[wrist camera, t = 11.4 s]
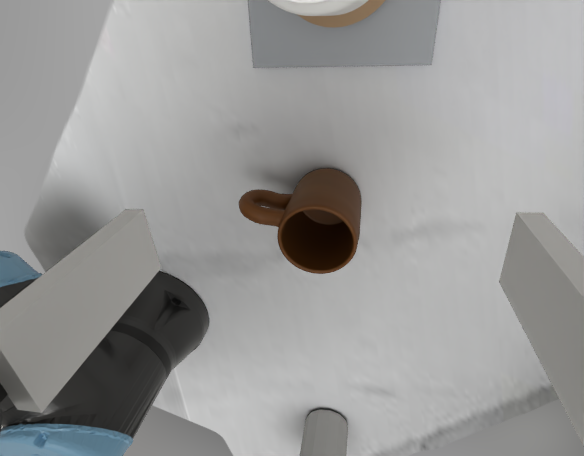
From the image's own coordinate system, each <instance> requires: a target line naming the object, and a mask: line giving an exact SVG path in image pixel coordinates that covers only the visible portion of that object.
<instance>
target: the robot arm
mask: <svg viewBox="0 0 584 456" xmlns="http://www.w3.org/2000/svg"><path fill="white" fill-rule="evenodd" d="M160 269H161V265H160V262H159V259H158V255H157V252H156V249H155V245H154V242H153V239H152V236H151V232H150V229H149V226H148V223H147V219H146V216H145V213H144V210H143V209H125V210H124V211H123V212H122V213H120V214H119V215H118V216H117V217H115V218H114V219H113V220H112V221H110V222H109V223H108V224H106V225H105V226H104V227H103V228H101V229H100V230H99V231H98V232H96V233H95V234H94V235H92V236H91V237H90V238H89V239H87V240H86V241H85V242H84V243H82V244H81V245H80V246H78V247H77V248H76V249H75V250H73V251H72V252H71V253H70V254H68V255H67V256H66V257H65V258H63V259H62V260H61V261H59V262H58V263H57V264H56V265H54V266H53V267H52V268H51V269H49V270H48V271H47V272H45V273H44V274H41V273H38V272H37V271H35V270H34V269H33V268H32V267H31V266H30V265H28V264H27V263H26V262H25V261H24V260H23V259H22V258H20V257H19V256H18V255H17V254H14V253H12V252H8V251H0V456H123V454H124V453H125V452H126V450H127V448H128V447H129V446H130V445H131V444H132V442H133V438H134V436H135V434H136V433H137V431H138V429H139V427H140V425H141V423H142V422H143V420H144V418H145V416H146V415H147V413H148V411H149V409H150V407H151V406H152V404H153V402H154V400H155V399H156V397H157V395H158V393H159V391H160V390H161V388H162V386H163V384H164V382H165V381H166V379H167V377H168V375H169V374H170V372H171V370H172V369H174V368H175V367H176V366H177V365H178V364H179V363H180V362H181V361H182V360H183V359H184V358H185V357H186V356H187V355H188V354H189V353H191V352H192V351H193V350H195V349H196V348H197V347H198V346H199V344H200V343H201V341H202V339H203V337H204V336H205V334H206V332H207V329H208V325H209V318H208V313H207V310H206V308H205V306H204V304H203V302H202V301H201V299H200V298H199V297H198V296H197V294H196V293H195V292H194V291H193V290H192V289H191V288H189V287H188V286H187V285H186V284H184V283H183V282H181V281H179V280H178V279H176V278H174V277H172V276H169V275H167V274H164V273H161V272H158V271H159V270H160ZM499 283H500V284H501V286H502V288H503V290H504V292H505V294H506V296H507V298H508V300H509V302H510V304H511V306H512V308H513V310H514V312H515V314H516V316H517V318H518V320H519V321H520V323H521V325H522V327H523V329H524V331H525V333H526V335H527V337H528V339H529V341H530V343H531V345H532V347H533V349H534V351H535V353H536V355H537V356H538V358H539V360H540V362H541V364H542V366H543V368H544V370H545V372H546V374H547V376H548V378H549V380H550V382H551V384H552V386H553V388H554V390H555V392H556V393H557V395H558V397H559V399H560V401H561V403H562V405H563V407H564V409H565V411H566V413H567V415H568V417H569V419H570V421H571V423H572V425H573V427H574V428H575V430H576V432H577V434H578V436H579V438H580V440H581V442H582V444H583V446H584V256H583V255H582V254H581V253H580V252H579V251H578V250H577V249H576V248H575V247H574V246H573V244H572V243H571V242H570V241H569V240H568V239H567V238H566V237H565V236H564V235H563V234H562V233H561V232H560V230H559V229H558V228H557V227H556V226H555V225H554V224H553V223H552V222H551V221H550V220H549V219H548V218H547V216H546V215H545V214H544V213H516V216H515V220H514V224H513V228H512V232H511V236H510V240H509V244H508V248H507V252H506V256H505V260H504V264H503V268H502V272H501V276H500V280H499ZM1 425H2V426H3V428H2V429H1Z"/></svg>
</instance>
